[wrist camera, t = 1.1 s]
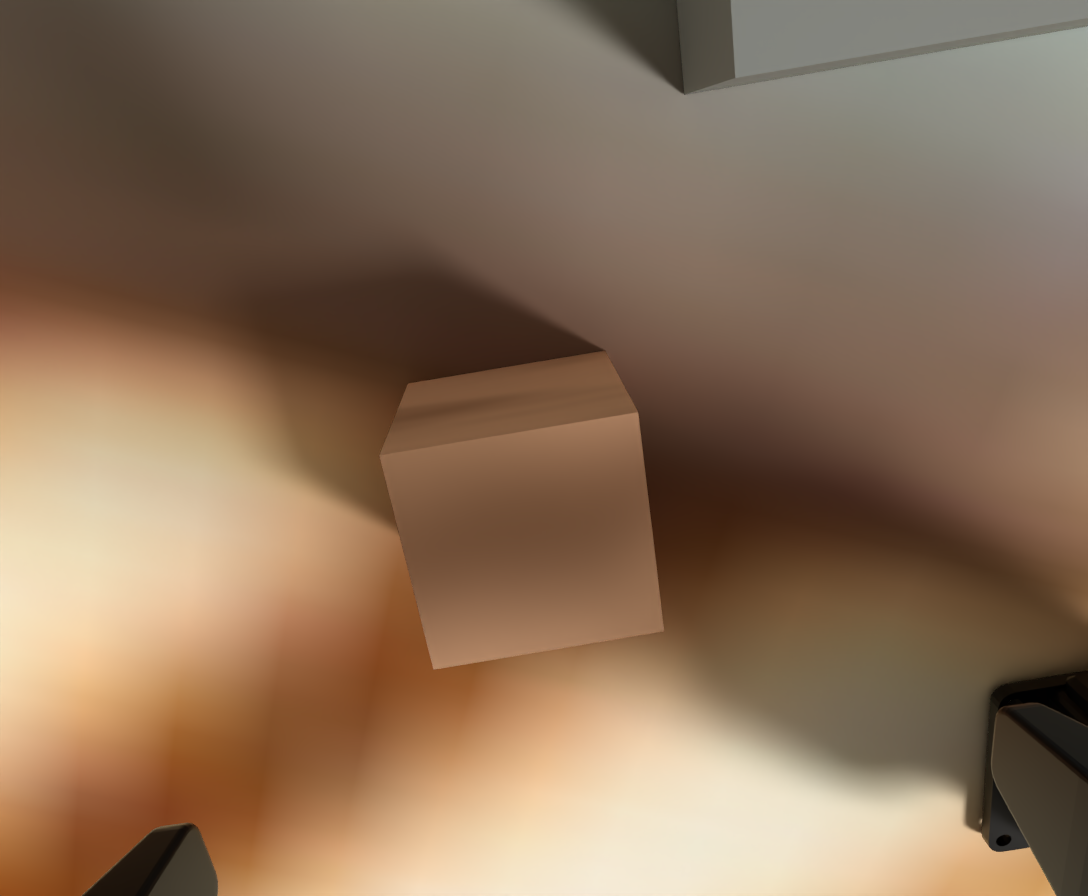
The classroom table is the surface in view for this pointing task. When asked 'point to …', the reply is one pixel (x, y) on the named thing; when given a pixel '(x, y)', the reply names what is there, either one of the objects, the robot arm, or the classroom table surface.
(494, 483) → the terracotta cube
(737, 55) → the base block
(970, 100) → the classroom table surface
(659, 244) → the classroom table surface
